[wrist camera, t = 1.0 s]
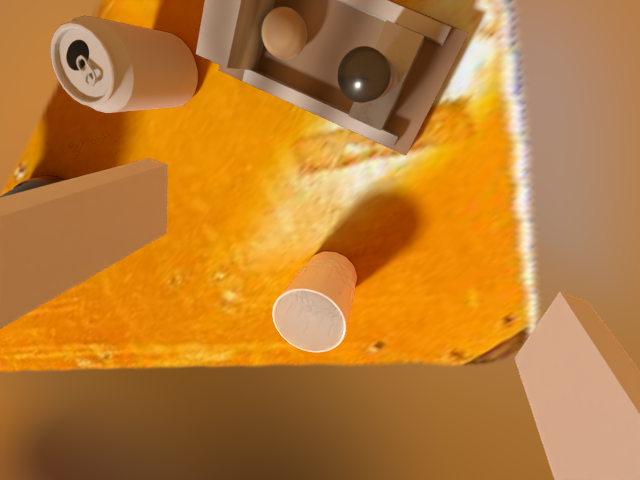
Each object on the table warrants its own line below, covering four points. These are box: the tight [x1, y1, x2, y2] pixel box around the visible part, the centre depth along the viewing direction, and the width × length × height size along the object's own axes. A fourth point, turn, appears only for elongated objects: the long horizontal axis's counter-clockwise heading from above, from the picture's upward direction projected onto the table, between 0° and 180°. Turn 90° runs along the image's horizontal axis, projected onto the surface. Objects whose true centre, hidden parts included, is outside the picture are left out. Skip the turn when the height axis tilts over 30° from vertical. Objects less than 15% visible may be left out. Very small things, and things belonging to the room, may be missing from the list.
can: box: [50, 16, 198, 113], centre depth 33 cm, size 8×8×12 cm
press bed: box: [196, 0, 468, 155], centre depth 30 cm, size 21×11×8 cm, turn 69°
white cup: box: [273, 251, 357, 352], centre depth 39 cm, size 8×8×10 cm
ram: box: [338, 20, 424, 131], centre depth 24 cm, size 3×7×16 cm, turn 159°
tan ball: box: [262, 7, 307, 60], centre depth 30 cm, size 4×4×4 cm
